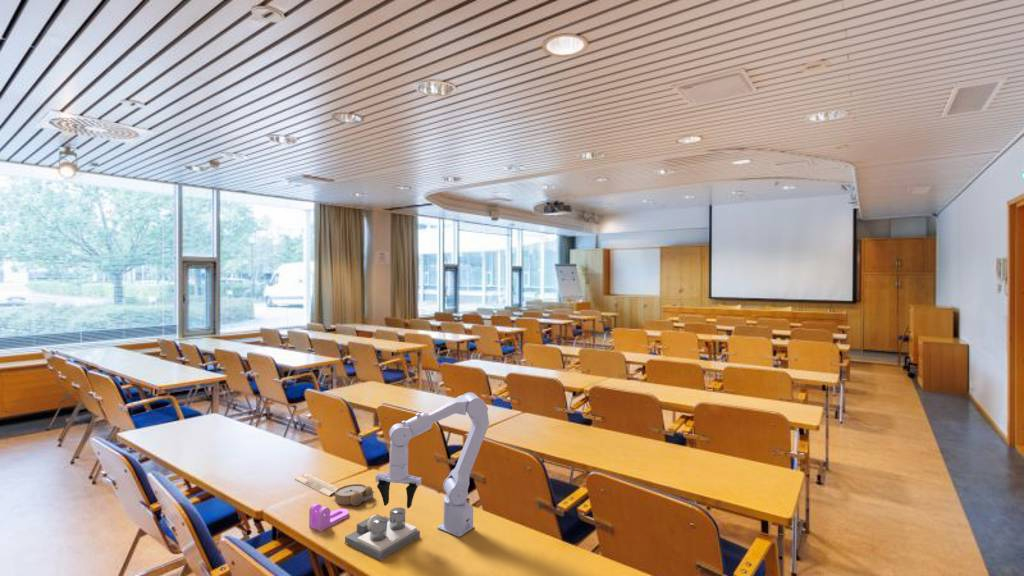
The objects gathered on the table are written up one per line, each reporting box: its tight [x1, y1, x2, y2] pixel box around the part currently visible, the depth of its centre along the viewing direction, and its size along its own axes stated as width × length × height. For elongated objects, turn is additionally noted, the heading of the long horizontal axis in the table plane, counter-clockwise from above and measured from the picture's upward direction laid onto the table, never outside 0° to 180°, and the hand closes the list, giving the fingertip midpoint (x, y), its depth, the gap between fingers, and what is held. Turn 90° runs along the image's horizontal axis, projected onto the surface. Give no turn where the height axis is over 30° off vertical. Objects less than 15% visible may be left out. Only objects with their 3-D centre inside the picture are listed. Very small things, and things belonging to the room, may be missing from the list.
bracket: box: [308, 502, 350, 532], centre depth 163 cm, size 13×6×7 cm, turn 150°
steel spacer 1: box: [370, 516, 388, 541], centre depth 148 cm, size 5×5×5 cm
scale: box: [344, 513, 421, 561], centre depth 152 cm, size 16×16×6 cm
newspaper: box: [295, 473, 340, 497], centre depth 190 cm, size 24×7×2 cm, turn 53°
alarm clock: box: [331, 483, 375, 507], centre depth 179 cm, size 11×5×15 cm
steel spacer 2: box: [389, 507, 406, 531], centre depth 155 cm, size 5×5×5 cm
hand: (397, 505), depth 154 cm, fingers open, 7 cm apart
